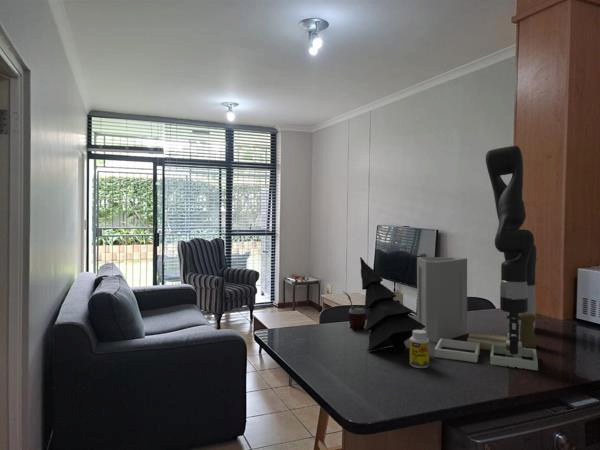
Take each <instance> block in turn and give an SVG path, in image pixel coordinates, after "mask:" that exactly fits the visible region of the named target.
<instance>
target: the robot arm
mask: <svg viewBox="0 0 600 450" xmlns="http://www.w3.org/2000/svg"><path fill="white" fill-rule="evenodd" d="M485 165H486V169H487V172H488V173H487V174H488V176H489V180H490V183H491V187H492V191H493V196H494V197H493V198H494V203H495V209H496V215H497V219H498V227H497V231H496V234H495V238H494V247H495V248H496V250H497V251H498V252H500V253H503V257H504V261H502V262H501V265H500V270H501V271H500V274H501V277H500V278H501V280H500V284H499V285H500V286H499V293H500V294H499V300H500V301H499V309H500V310H501V311H502V312H504V313H508V314H507V315H506V324H507V334H508V333H509V341H510V353H511V354H518V341H519V334H520V325H521V317H518V314H519V313H526V312H528V313H532V314H534V316H535V317H536V268H537V267H536V266H537V265H536V264H537V247H536V245H535V236H534V234H533V233H532V231H531V230H529V229H521V227H522V226H523V224H524V223H525V220H526V217H527V215H526V213H527V212H526V208H525V202H524V200H523V188H524V186H523V185H524V184H523V183H524V160H523V153H522V150H521V148H520V147H519V146H518V145H509V146H505V147H499V148H498V147H497V148H493V149H490V150H488V151H487V152H486V153H485ZM505 175H511V178H510V181H509V182H508V184H506V182H505V181H504V180H503V178H502V176H505ZM533 325H534V331H535V330H536V321H535V322H534V323H533ZM512 334H513V335H517V337H511V335H512Z"/></svg>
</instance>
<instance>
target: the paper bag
mask: <svg viewBox="0 0 600 450" xmlns="http://www.w3.org/2000/svg"><path fill="white" fill-rule="evenodd" d="M416 279H417V280H416V285H417V286H416V301H417V302H416V321H418V322H420V323H421V324H423V325H424V326H426V327H425V328H423V329H422V330H424V331H426V335H427V338H428V339H429V342H432V343H436V344H438V342H439V340H440V338H441V339H450V340H452V339H454V338H457V337H461V336H463V335H467V334H468V258H466V257H447V256H446V257H441V256H440V257H439V256H438V257H437V256H433V257H432V256H420V257H419V256H418V257H416Z"/></svg>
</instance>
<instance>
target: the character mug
mask: <svg viewBox="0 0 600 450" xmlns="http://www.w3.org/2000/svg"><path fill="white" fill-rule="evenodd" d="M391 291H392V290H391ZM392 292H393V293H394V294H395V295H396V297H394V298H393V300H395V301H397V302H399V303H400V304H402V305H404V293H403V292H401V291H397V290H396V291H395V290H394V291H392Z"/></svg>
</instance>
